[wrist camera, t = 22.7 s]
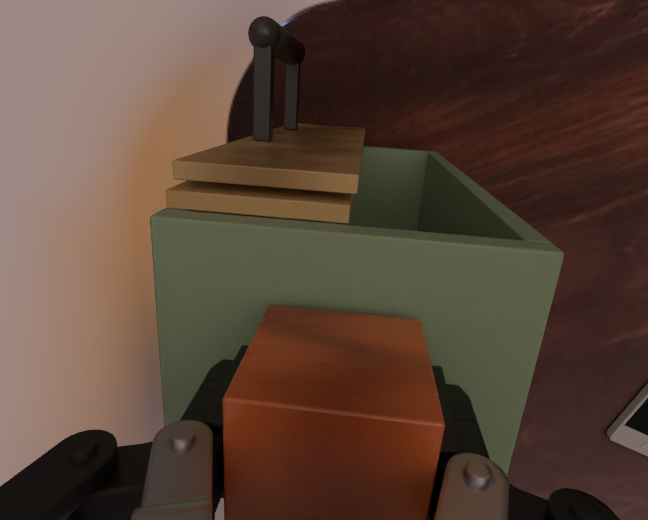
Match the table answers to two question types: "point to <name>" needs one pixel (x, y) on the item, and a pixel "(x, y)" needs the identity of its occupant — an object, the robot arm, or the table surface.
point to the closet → (359, 275)
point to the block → (332, 420)
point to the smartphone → (633, 424)
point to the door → (280, 133)
